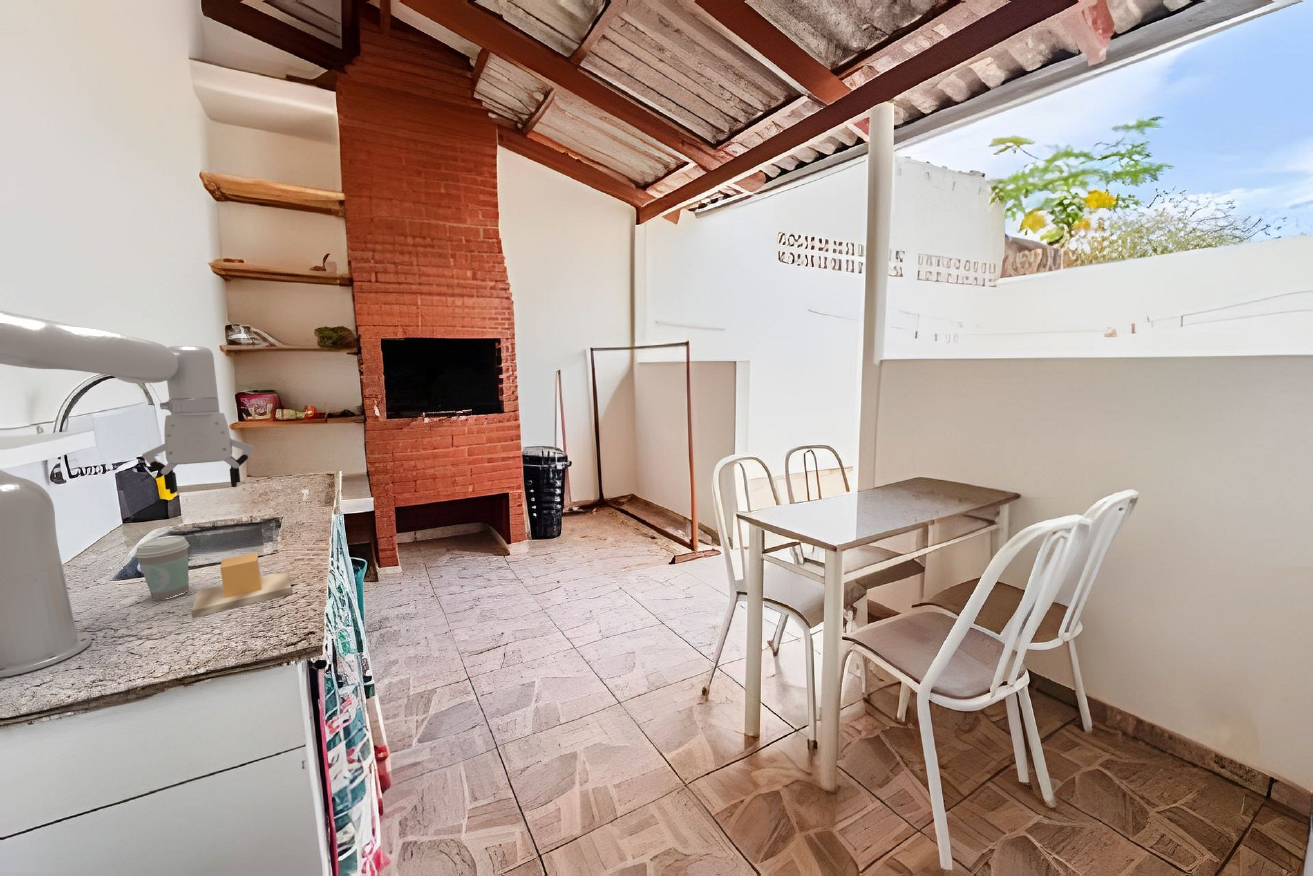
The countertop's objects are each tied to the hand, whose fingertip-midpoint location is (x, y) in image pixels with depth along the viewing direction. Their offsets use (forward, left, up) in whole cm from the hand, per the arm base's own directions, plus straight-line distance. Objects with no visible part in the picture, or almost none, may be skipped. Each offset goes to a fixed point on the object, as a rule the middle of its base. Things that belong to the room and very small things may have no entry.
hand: (204, 489), depth 109 cm
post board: (+4, -3, -24) cm, 24 cm away
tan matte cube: (+4, -3, -22) cm, 23 cm away
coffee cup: (-9, +9, -24) cm, 27 cm away
